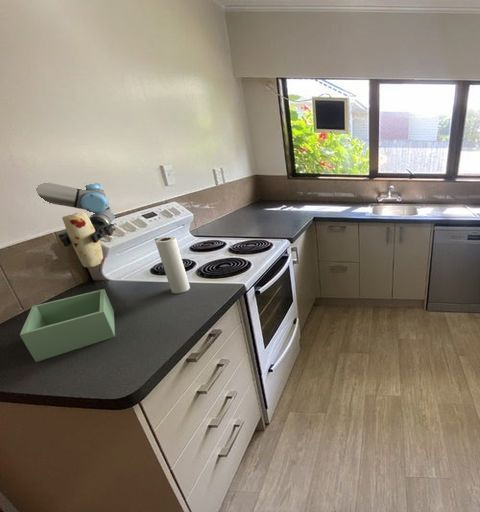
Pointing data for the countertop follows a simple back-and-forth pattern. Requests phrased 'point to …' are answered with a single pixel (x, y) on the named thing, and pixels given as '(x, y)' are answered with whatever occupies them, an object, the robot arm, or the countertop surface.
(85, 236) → the food model
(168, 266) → the paper towel roll
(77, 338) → the storage bin
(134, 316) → the countertop surface
